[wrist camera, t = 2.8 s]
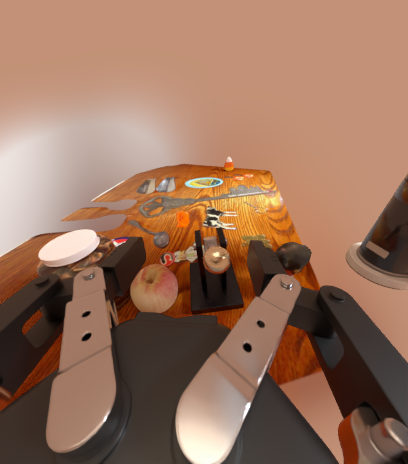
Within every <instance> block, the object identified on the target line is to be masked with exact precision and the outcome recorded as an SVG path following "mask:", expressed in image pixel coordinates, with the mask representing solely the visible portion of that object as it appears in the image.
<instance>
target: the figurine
mask: <svg viewBox="0 0 408 464" xmlns="http://www.w3.org/2000/svg"><path fill="white" fill-rule="evenodd" d="M275 254H276V256H277V258H278V259H279V262H280V263H281V264H282V266H283V268H284V270H285V271H286V273H287V275H289V276H291V277H293V278H294V274H295V273H299V272H300V271H301V270H302V268H303V267H304V266H305V265H306V264H307V263H308V262H309V260H310V256H311V251H310V249H308V247H306V246H304V245H300V244H298V243H295V242H289V243H285V244H283V245H282V246H280V247H279V248H278V249H277V251H276V252H275Z"/></svg>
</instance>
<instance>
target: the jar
mask: <svg viewBox="0 0 408 464" xmlns="http://www.w3.org/2000/svg"><path fill="white" fill-rule="evenodd" d="M115 248H116V247H115V246H114V244H113V243H112V241H111V240H110V239H109V238H108V237H106V236H104V235H99V234H96V233H95V232H94V231H92V230H86V229H85V230H77V231H73V232H69V233H66V234H64V235H61V236H59V237H57V238H55V239H54V240H52V241H50V242H49V243H47V244H46V245H45V246H44V247H43V248H42V249H41V250H40V252H39V255H38V256H39V258H40V259H41V261H40V262H39V264H38V267H37V273H38V275H39V276H43V275H46V274H52V273H54V274H58V275H59V277H60V279H61V280H65V279H71V278H74V277H75V276H76V275H77V274H78V273H79V272H81V271H83V270H85V269H87V268H90V267H97V266H98V265H99V264H100V263H101V262H102V261H103V260H104V259H105V258H106V257H107V256H108V255H109V254H110V253H111V252H113V250H114V249H115ZM130 288H131V285H130V287H129V288H128V290H127V292H126V293H125V295H124V296H115V298H114V302H115V306H116V310H117V309H119V308H120V307H121V306H122V305H124V304H125V303H126V301H127V300H128V299H129V298H130V296H131V295H130Z"/></svg>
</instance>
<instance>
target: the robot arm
mask: <svg viewBox="0 0 408 464" xmlns="http://www.w3.org/2000/svg"><path fill="white" fill-rule="evenodd" d="M356 253H357V256H358V258H359V259H360V260H361V261H362V262H363V263H364V264H366V265H367V266H369V267H370V268H372V269H374V270H376V271H378V272H380V273H383V274H386V275H389V276H393V277H400V278H408V174H407V175H406V177H405V178H404V180H403V181H402V183H401V184H400V186H399V188H398V189H397V190H396V192H395V193H394V195H393V197H392V198H391V200H390V201H389V203H388V204H387V206H386V207H385V209H384V210H383V212H382V213H381V215H380V216H379V218H378V220H377V221H376V223H375V224H374V226H373V227H372V229H371V230H370V232H369V233H368V235H367V236H366V238H365V239H364V241H363V242H362V243H361V245H360V246H359V247H358V249H357V251H356ZM145 260H146V252H145V247H144V242H143V238H142V237H130V238H129V239H128V240H127V241H126V242H125V243H123V244H121V245H119V246H117V247H116V248H115V249H114V250H113V252H111V253H110V254H109V255H108V256H107V257H106V258H105V259H104V260H103V261H102V262H101V263H100V264H99V265H98V266H97V267H90V268H87V269H85V270H83V271H81V272H79V273H78V274H77V275H76V276H75V277H74V278H71V279H65V280H61V279H60V277H59V275H58V274H54V273H52V274H46V275H43V276H40V277H38V278H36V279H34V280H32V281H31V282H29V283H28V284H27V285H25V286H24V287H23V288H22V289H20V290H19V291H18V292H16V293H15V294H14V295H12V296H11V297H10V298H8V299H7V300H6V301H4V302H3V303H2V304H1V305H0V464H339V463H338V461H337V460H336V458H335V457H334V455H333V454H332V452H331V451H330V449H329V448H328V447H327V446H326V444H325V443H324V442H323V441H322V439H321V438H320V437H319V436H318V434H317V433H316V432H315V431H314V429H313V428H312V427H311V426H310V424H309V423H308V422H307V421H306V419H305V418H304V417H303V416H302V415H301V413H300V412H299V411H298V409H297V408H296V407H295V406H294V404H293V403H292V402H291V401H290V399H289V398H288V397H287V396H286V394H285V393H284V392H283V391H282V389H281V388H280V387H279V386H278V384H277V383H276V382H275V381H274V379H273V378H272V377H271V376H270V374H269V373H268V372H269V370H270V367H271V365H272V362H273V360H274V357H275V355H276V352H277V350H278V347H279V345H280V342H281V340H282V338H283V335H284V333H285V330H286V328H287V326H288V325H291V326H294V327H297V328H300V329H302V330H305V331H306V333H307V335H308V338H309V340H310V342H311V345H312V347H313V349H314V351H315V354H316V356H317V358H318V361H319V363H320V365H321V368H322V370H323V372H324V374H325V377H326V379H327V381H328V384H329V386H330V388H331V391H332V393H333V395H334V397H335V400H336V402H337V404H338V406H339V409H340V411H341V414H342V416H343V418H344V419H343V420H342V422H341V423H340V424H339V428H338V436H339V441H340V445H341V448H342V451H343V456H344V464H408V363H407V361H406V360H405V359H404V358H403V357H402V356H401V354H400V353H399V352H398V351H397V350H396V348H395V347H394V346H393V345H392V344H391V343H390V341H389V340H388V339H387V338H386V337H385V335H384V334H383V333H382V332H381V331H380V330H379V328H378V327H377V326H376V325H375V324H374V323H373V321H372V320H371V319H370V318H369V317H368V315H367V314H366V313H365V312H364V311H363V310H362V308H361V307H360V306H359V305H358V304H357V303H356V301H355V300H354V299H353V298H352V297H351V296H350V295H349V294H348V293H346V292H345V291H343V290H341V289H339V288H337V287H334V286H322V287H321V288H320V290H319V292H318V291H315V290H311V289H307V288H304V287H301V285H300V283H299V282H298V281H297V280H296V279H295V278H293V277H291V276H289V275H287V273H286V271H285V270H284V268H283V266H282V264H281V263H280V262H279V259H278V258H277V256H276V254H275V252H274V251H273V250H271V249H270V248H267V247H265V246H264V244H263V242H262V241H260V240H251V241H250V244H249V251H248V257H247V265H248V269H249V273H250V276H251V280H252V284H253V287H254V291H255V294H256V297H255V298H254V299H253V301H252V302H251V304H250V305H249V306H248V308H247V309H246V311H245V312H244V314H243V315H242V316H241V318H240V319H239V321H238V322H237V323H236V325H235V326H234V328H233V329H232V330H231V329H230V328H228V327H226V326H225V325H222V324H220V323H217V316H210V315H194V316H188V317H183V318H177V319H176V318H172V317H169V316H166V315H163V314H160V313H155V312H138V313H137V315H136V317H135V318H134V319H131V320H127V321H125V322H122V323H120V324H119V321H118V316H117V311H116V306H115V302H114V298H115V296H124V295H125V293H126V292H127V290H128V288H129V287H130V285H131V284H132V282H133V280H134V279H135V277H136V276H137V274H138V272H139V271H140V269H141V268H142V266H143V264H144V263H145ZM38 310H40V312H41V313H42V314H43V316H42V317H41V318H40V319H39V321H38V322H37V323H36V324H35V325H34V326H33V327H32V328H31V329H30V330H29V331H28V332H27V333H26V334H25V335H24V334H23V333H22V328H23V325H24V324H25V322H26V321H27V320H28V319H29V318H30V317H31V316H32V315H33V314H34V313H36V312H37V311H38ZM62 332H63V337H62V346H61V355H60V364H59V368H58V369H57V370H55V371H54V372H53V373H51V374H50V375H48V376H47V377H46V378H44V379H43V380H42V381H40V382H39V383H38V384H36V385H35V386H34V387H32V388H31V389H30V390H28V391H27V392H26V393H24V394H23V395H22V396H20V397H19V398H17V399H16V400H15V401H13V402H12V403H11V404H9V403H10V400H11V397H12V396H13V395H14V393H15V392H16V391H17V389H18V388H19V387H20V386H21V384H22V383H23V382H24V380H25V379H26V378H27V377H28V375H29V374H30V373H31V371H32V370H33V369H34V368H35V366H36V365H37V364H38V362H39V361H40V360H41V359H42V357H43V356H44V355H45V353H46V352H47V351H48V350H49V348H50V347H51V346H52V344H53V343H54V342H55V341H56V339H57V338H58V337H59V335H60V334H61V333H62Z"/></svg>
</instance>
